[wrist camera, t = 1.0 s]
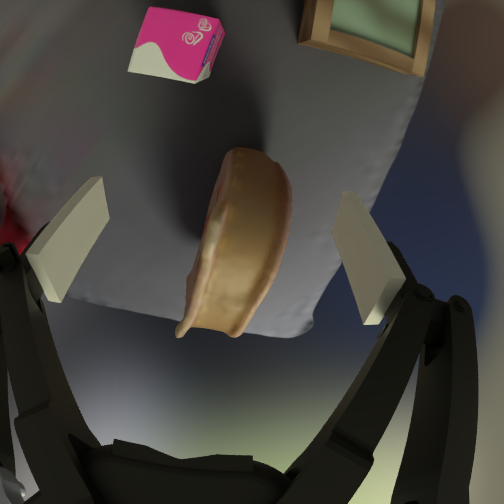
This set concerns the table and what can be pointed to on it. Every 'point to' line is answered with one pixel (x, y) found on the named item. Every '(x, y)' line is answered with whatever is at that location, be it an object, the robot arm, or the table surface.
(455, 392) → the robot arm
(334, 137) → the table surface
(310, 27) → the frame
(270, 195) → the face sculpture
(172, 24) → the supplement box
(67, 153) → the table surface
